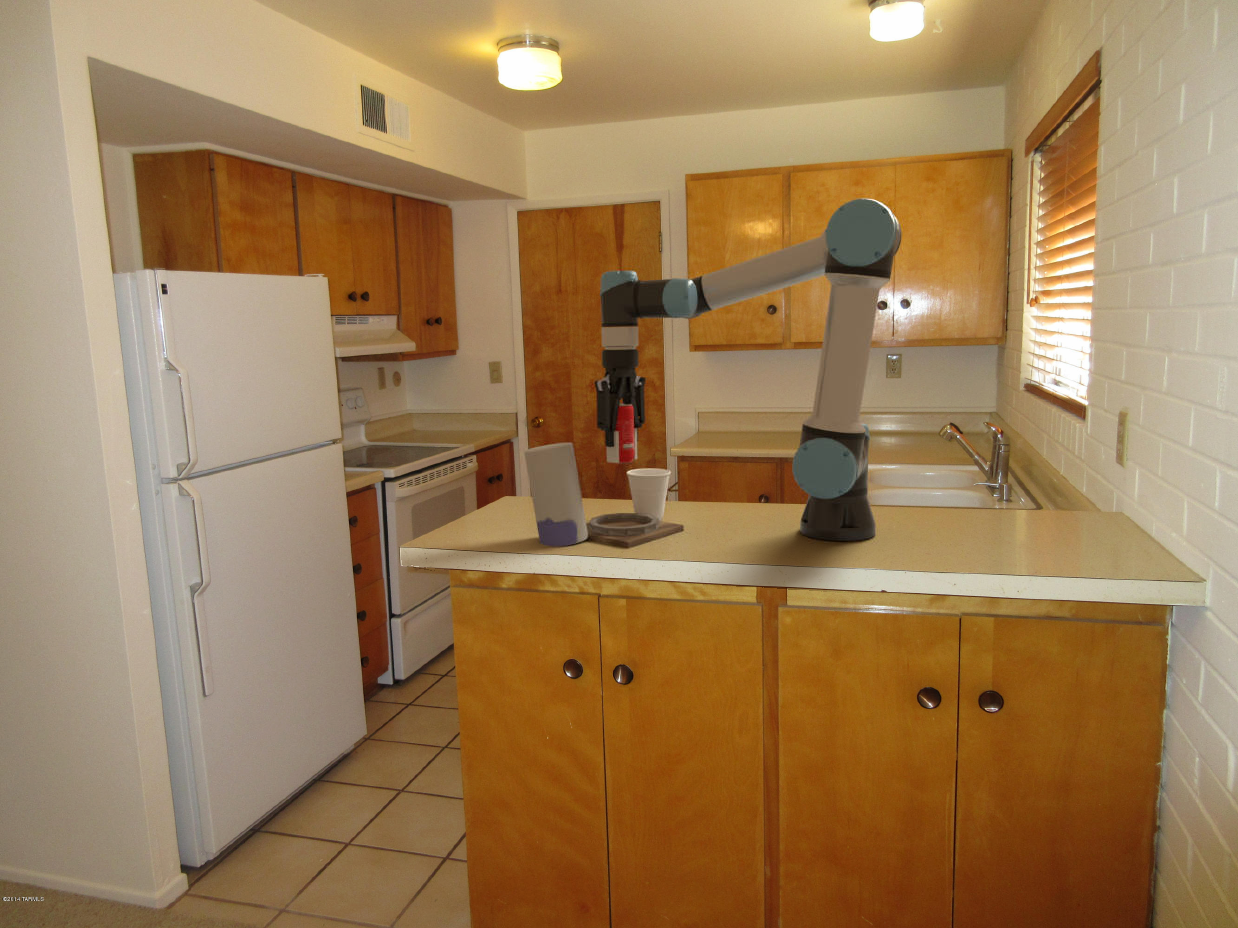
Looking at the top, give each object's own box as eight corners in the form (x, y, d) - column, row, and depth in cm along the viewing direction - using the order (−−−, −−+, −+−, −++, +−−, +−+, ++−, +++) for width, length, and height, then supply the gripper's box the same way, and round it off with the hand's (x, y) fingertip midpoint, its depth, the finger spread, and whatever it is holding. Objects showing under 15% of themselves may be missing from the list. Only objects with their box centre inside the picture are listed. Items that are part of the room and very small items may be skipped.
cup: (672, 524, 187) (671, 475, 185) (627, 525, 187) (626, 476, 186) (670, 514, 197) (669, 467, 195) (627, 515, 197) (626, 468, 196)
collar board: (683, 530, 181) (683, 518, 181) (628, 548, 168) (628, 534, 168) (619, 519, 193) (619, 507, 193) (563, 535, 180) (563, 522, 179)
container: (596, 534, 178) (580, 440, 176) (575, 546, 169) (558, 447, 167) (554, 537, 182) (538, 445, 180) (531, 549, 173) (514, 452, 171)
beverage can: (613, 464, 175) (612, 405, 173) (606, 460, 180) (605, 403, 178) (637, 462, 176) (636, 404, 175) (630, 458, 181) (629, 402, 179)
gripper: (634, 347, 184) (636, 453, 187) (576, 349, 170) (579, 464, 174) (661, 347, 179) (663, 456, 182) (604, 349, 165) (606, 468, 169)
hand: (622, 460), depth 178 cm, fingers closed on beverage can, 5 cm apart
